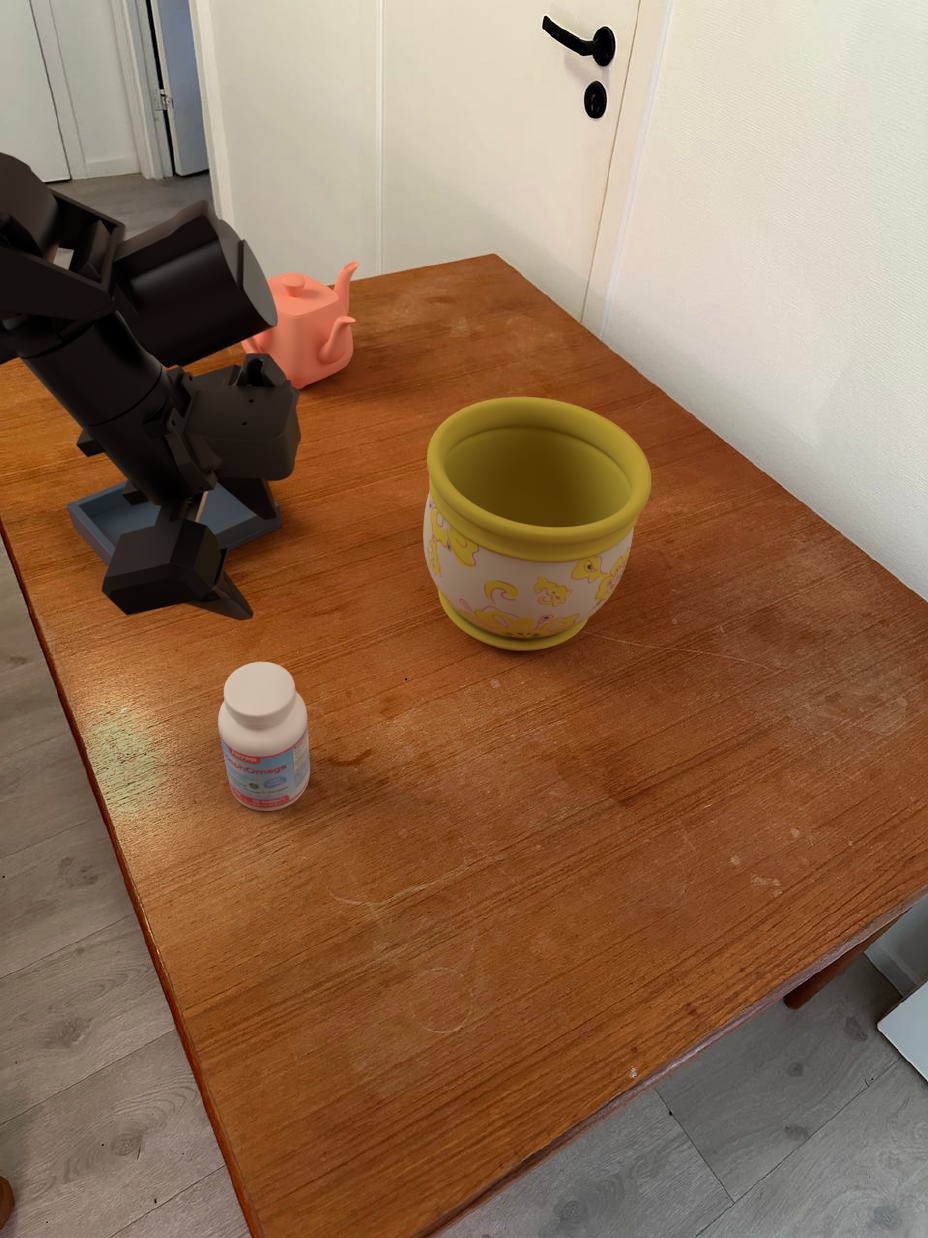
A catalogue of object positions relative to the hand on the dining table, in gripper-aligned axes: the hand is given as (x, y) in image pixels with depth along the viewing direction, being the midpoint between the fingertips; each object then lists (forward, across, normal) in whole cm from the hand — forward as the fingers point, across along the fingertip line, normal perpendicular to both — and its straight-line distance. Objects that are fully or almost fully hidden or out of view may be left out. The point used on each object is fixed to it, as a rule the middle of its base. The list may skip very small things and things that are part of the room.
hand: (260, 565), depth 60 cm
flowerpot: (+23, +12, -11) cm, 28 cm away
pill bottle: (+13, -9, +5) cm, 17 cm away
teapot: (+15, +48, +13) cm, 52 cm away
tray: (+10, +18, +18) cm, 27 cm away
